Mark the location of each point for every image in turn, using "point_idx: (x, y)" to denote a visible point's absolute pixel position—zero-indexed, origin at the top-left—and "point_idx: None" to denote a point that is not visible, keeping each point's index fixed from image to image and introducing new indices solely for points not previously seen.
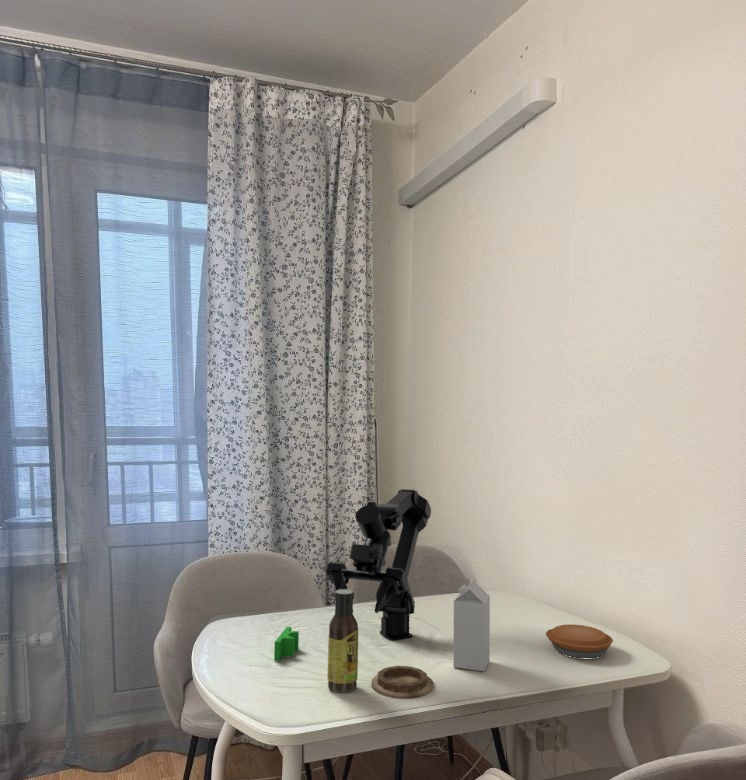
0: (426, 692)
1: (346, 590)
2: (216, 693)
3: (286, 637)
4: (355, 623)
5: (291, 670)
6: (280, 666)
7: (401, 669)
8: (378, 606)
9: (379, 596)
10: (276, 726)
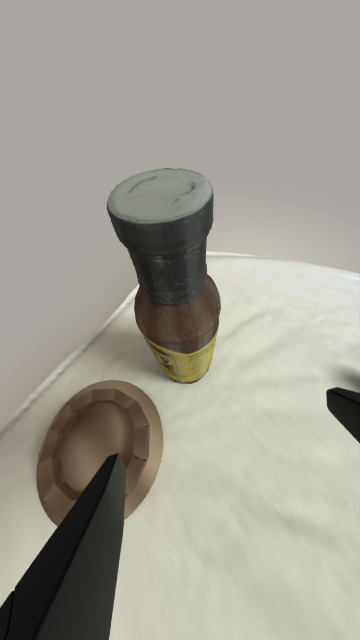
0: (47, 433)
1: (163, 204)
2: (295, 262)
3: None
4: (135, 304)
5: (310, 365)
6: (343, 366)
7: None
8: (90, 481)
9: (56, 570)
10: None
